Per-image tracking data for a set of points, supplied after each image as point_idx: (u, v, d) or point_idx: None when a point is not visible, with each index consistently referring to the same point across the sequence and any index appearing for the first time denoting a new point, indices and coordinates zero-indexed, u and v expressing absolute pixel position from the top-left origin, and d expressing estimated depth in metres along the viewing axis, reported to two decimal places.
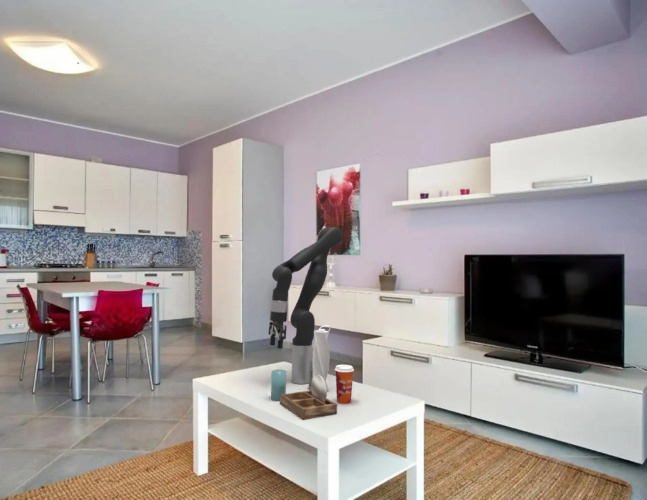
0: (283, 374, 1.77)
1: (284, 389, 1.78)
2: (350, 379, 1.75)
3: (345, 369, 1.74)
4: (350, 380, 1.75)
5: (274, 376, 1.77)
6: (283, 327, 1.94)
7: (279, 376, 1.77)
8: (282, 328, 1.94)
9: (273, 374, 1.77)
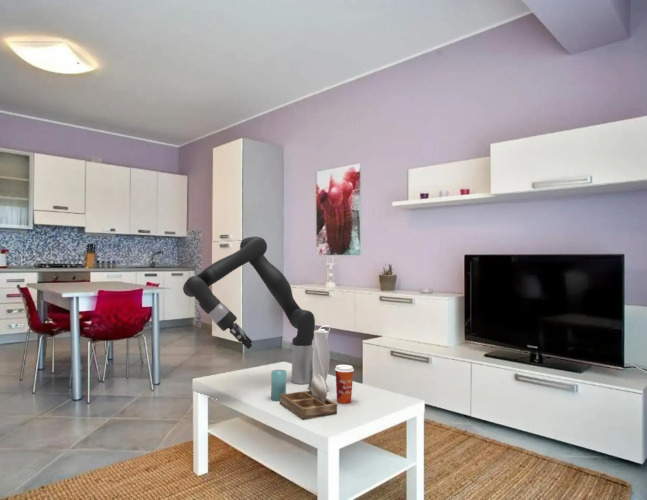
0: (283, 374, 1.77)
1: (284, 389, 1.78)
2: (350, 379, 1.75)
3: (345, 369, 1.74)
4: (350, 380, 1.75)
5: (274, 376, 1.77)
6: (232, 331, 1.70)
7: (279, 376, 1.77)
8: (232, 332, 1.70)
9: (273, 374, 1.77)
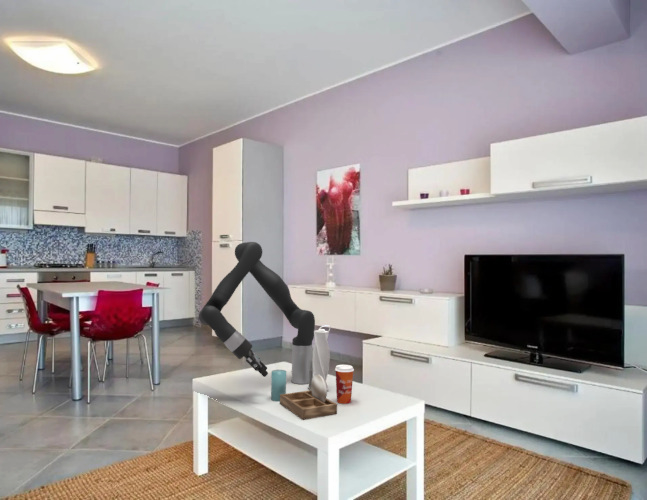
0: (283, 374, 1.77)
1: (284, 389, 1.78)
2: (350, 379, 1.75)
3: (345, 369, 1.74)
4: (350, 380, 1.75)
5: (274, 376, 1.77)
6: (249, 360, 1.71)
7: (279, 376, 1.77)
8: (248, 361, 1.71)
9: (273, 374, 1.77)
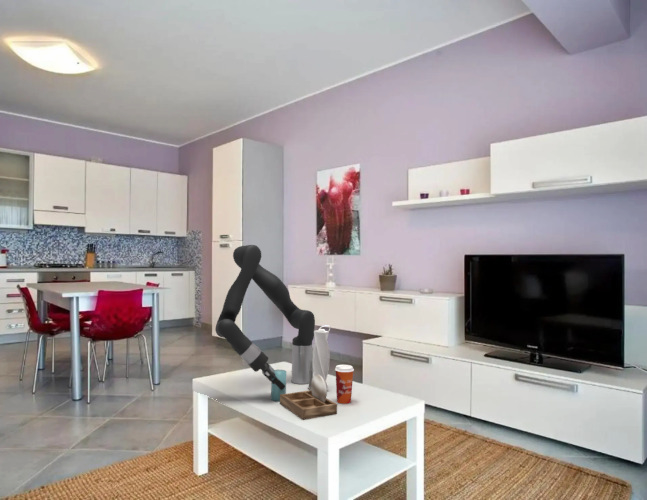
0: (283, 374, 1.77)
1: (284, 389, 1.78)
2: (350, 379, 1.75)
3: (345, 369, 1.74)
4: (350, 380, 1.75)
5: None
6: (267, 374, 1.72)
7: (279, 376, 1.77)
8: (267, 376, 1.72)
9: None
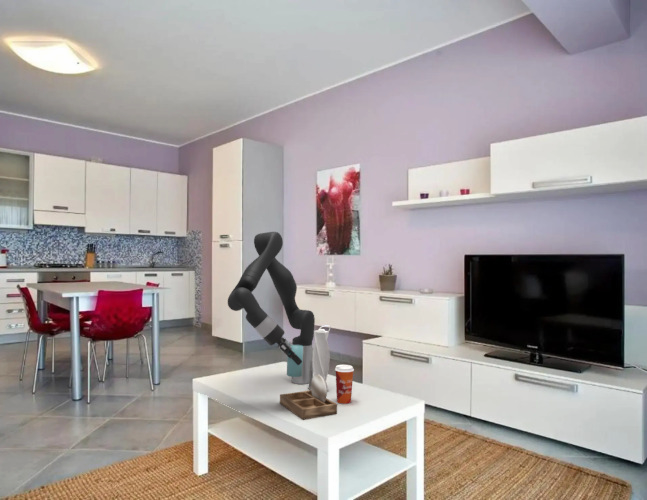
0: (300, 348, 1.68)
1: (301, 364, 1.68)
2: (350, 379, 1.75)
3: (345, 369, 1.74)
4: (350, 380, 1.75)
5: None
6: (283, 347, 1.62)
7: (296, 350, 1.67)
8: (283, 349, 1.62)
9: None
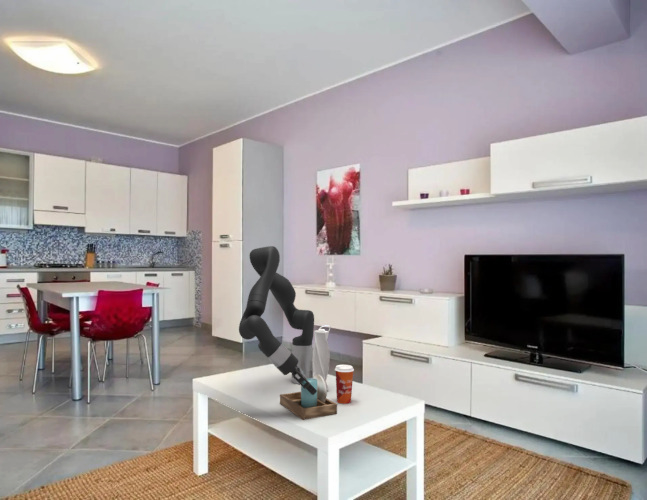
0: (314, 383, 1.61)
1: (315, 400, 1.61)
2: (350, 379, 1.75)
3: (345, 369, 1.74)
4: (350, 380, 1.75)
5: None
6: (296, 377, 1.56)
7: None
8: (296, 378, 1.56)
9: (303, 383, 1.61)
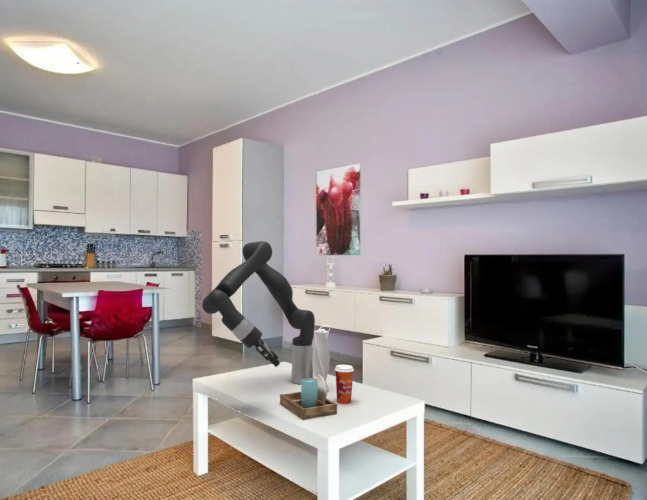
0: (315, 383, 1.61)
1: (316, 400, 1.61)
2: (350, 379, 1.75)
3: (345, 369, 1.74)
4: (350, 380, 1.75)
5: (305, 385, 1.60)
6: (259, 349, 1.58)
7: (311, 386, 1.60)
8: (259, 351, 1.58)
9: (304, 383, 1.61)
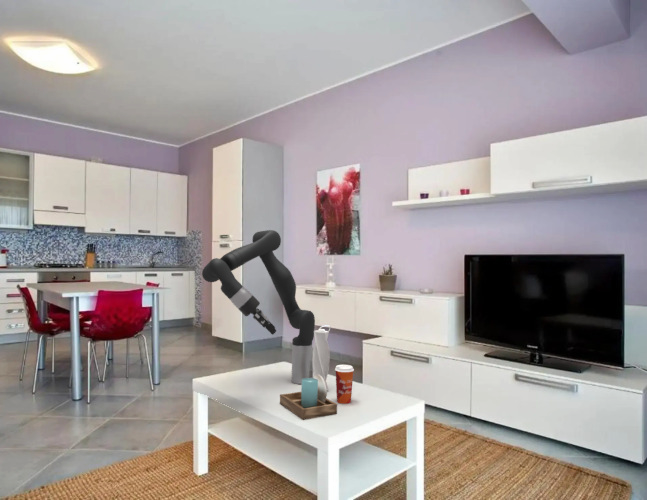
0: (315, 383, 1.61)
1: (316, 400, 1.61)
2: (350, 379, 1.75)
3: (345, 369, 1.74)
4: (350, 380, 1.75)
5: (305, 385, 1.60)
6: (256, 316, 1.63)
7: (311, 386, 1.60)
8: (256, 317, 1.63)
9: (304, 383, 1.61)
